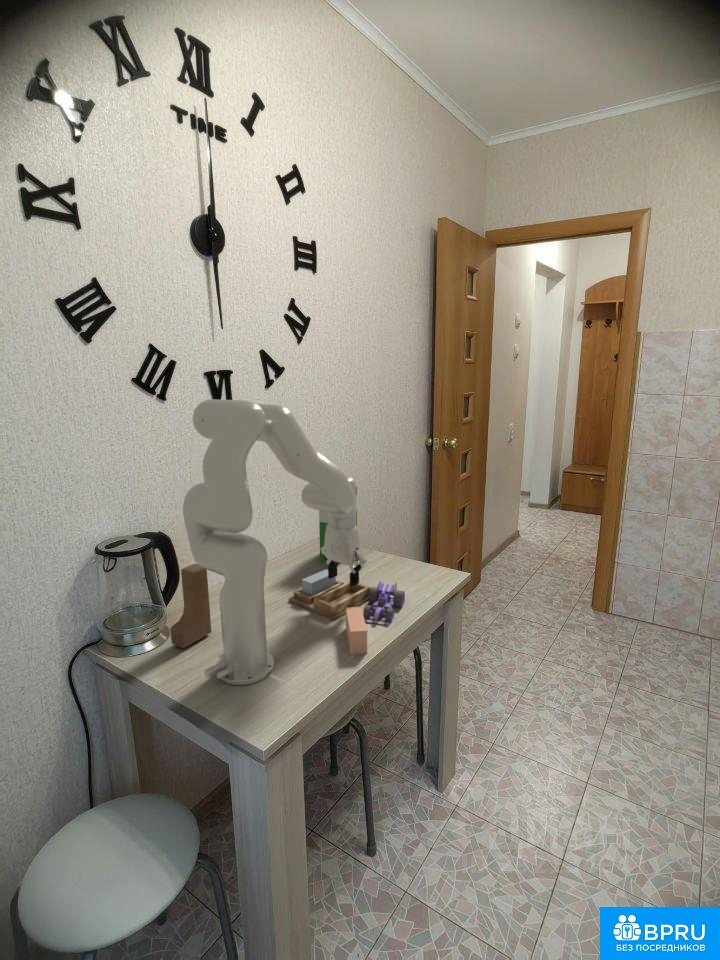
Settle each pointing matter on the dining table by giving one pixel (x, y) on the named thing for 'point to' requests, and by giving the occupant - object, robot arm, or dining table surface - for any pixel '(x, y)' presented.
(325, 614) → the jig
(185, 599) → the wooden block
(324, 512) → the hardback book
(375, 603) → the toy race car
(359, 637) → the salmon orange rectangular block
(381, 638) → the dining table surface
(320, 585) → the light blue block
